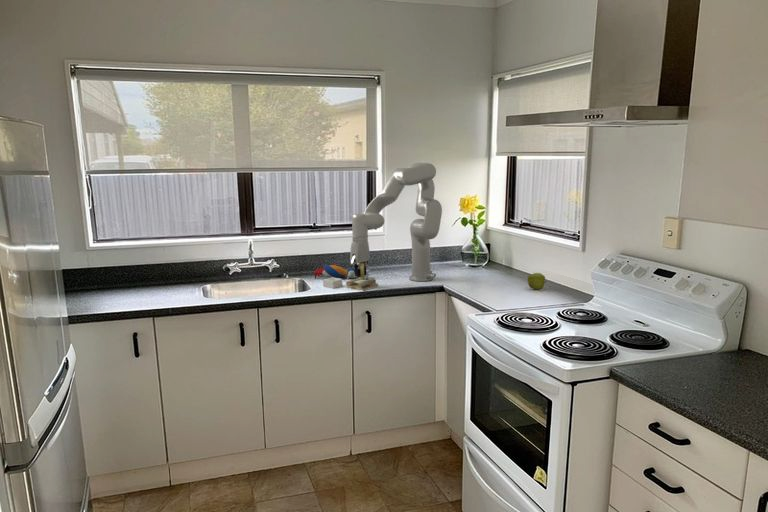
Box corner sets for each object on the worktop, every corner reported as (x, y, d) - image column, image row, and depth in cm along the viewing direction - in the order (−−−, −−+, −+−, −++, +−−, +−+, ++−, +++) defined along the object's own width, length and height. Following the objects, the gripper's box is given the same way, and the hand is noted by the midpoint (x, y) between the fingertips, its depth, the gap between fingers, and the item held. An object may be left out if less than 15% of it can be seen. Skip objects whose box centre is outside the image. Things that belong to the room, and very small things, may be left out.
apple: (546, 291, 266) (547, 275, 265) (526, 290, 269) (527, 274, 267) (546, 288, 273) (547, 271, 272) (527, 287, 276) (528, 271, 274)
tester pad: (368, 281, 282) (368, 280, 282) (360, 283, 277) (360, 282, 277) (361, 280, 285) (361, 279, 284) (353, 282, 280) (353, 281, 280)
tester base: (378, 285, 282) (378, 279, 282) (362, 290, 273) (362, 284, 272) (362, 283, 289) (361, 277, 288) (346, 287, 279) (346, 281, 279)
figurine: (309, 286, 291) (366, 284, 286) (308, 270, 290) (365, 268, 284) (324, 275, 317) (376, 273, 312) (322, 260, 316) (375, 258, 310)
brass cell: (365, 276, 281) (365, 261, 279) (361, 277, 278) (360, 262, 277) (360, 275, 283) (359, 260, 282) (355, 277, 280) (355, 262, 279)
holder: (342, 285, 284) (342, 279, 283) (333, 288, 278) (333, 281, 278) (332, 284, 288) (332, 277, 287) (323, 286, 283) (323, 279, 282)
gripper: (364, 236, 286) (365, 272, 289) (343, 240, 273) (343, 277, 276) (376, 237, 281) (377, 273, 284) (355, 241, 268) (355, 279, 271)
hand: (360, 275), depth 280 cm, fingers closed on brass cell, 3 cm apart
